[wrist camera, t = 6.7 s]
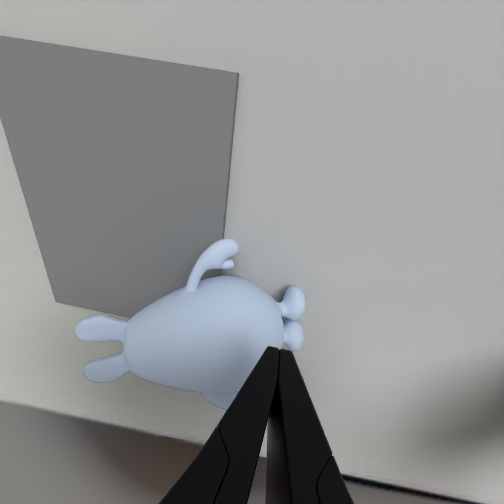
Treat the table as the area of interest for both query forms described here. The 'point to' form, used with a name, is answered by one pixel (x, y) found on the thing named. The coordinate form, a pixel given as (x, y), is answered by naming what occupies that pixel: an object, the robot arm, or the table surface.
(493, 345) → the table surface
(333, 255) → the table surface
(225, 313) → the toy figure
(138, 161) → the mat
